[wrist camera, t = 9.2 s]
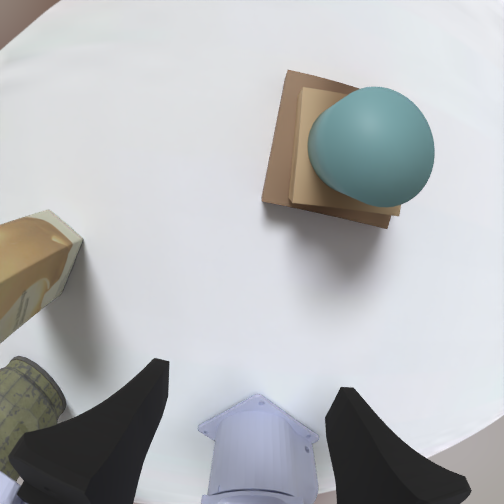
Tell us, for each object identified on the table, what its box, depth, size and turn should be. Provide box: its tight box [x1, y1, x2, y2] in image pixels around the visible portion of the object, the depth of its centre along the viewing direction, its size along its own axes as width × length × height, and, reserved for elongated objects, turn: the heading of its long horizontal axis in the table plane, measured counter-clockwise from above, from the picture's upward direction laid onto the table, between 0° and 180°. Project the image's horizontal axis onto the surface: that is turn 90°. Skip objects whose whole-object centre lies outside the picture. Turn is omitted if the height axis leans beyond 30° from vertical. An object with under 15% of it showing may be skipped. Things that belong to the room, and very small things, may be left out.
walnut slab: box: [262, 70, 391, 229], centre depth 17 cm, size 8×8×2 cm
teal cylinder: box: [308, 87, 434, 207], centre depth 12 cm, size 5×5×4 cm
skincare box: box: [0, 210, 83, 343], centre depth 14 cm, size 6×4×12 cm
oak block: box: [288, 87, 401, 216], centre depth 15 cm, size 6×6×2 cm
